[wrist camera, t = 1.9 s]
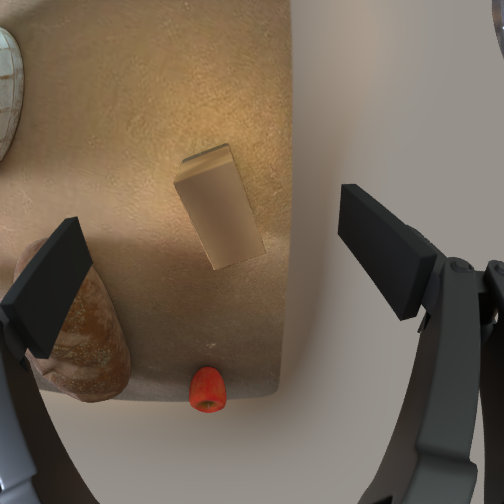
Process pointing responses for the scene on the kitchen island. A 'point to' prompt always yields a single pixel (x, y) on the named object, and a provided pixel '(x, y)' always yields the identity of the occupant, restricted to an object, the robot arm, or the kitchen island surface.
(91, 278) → the bread
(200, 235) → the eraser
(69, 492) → the robot arm
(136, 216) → the kitchen island surface
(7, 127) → the white milk churn
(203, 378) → the apple
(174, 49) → the kitchen island surface
